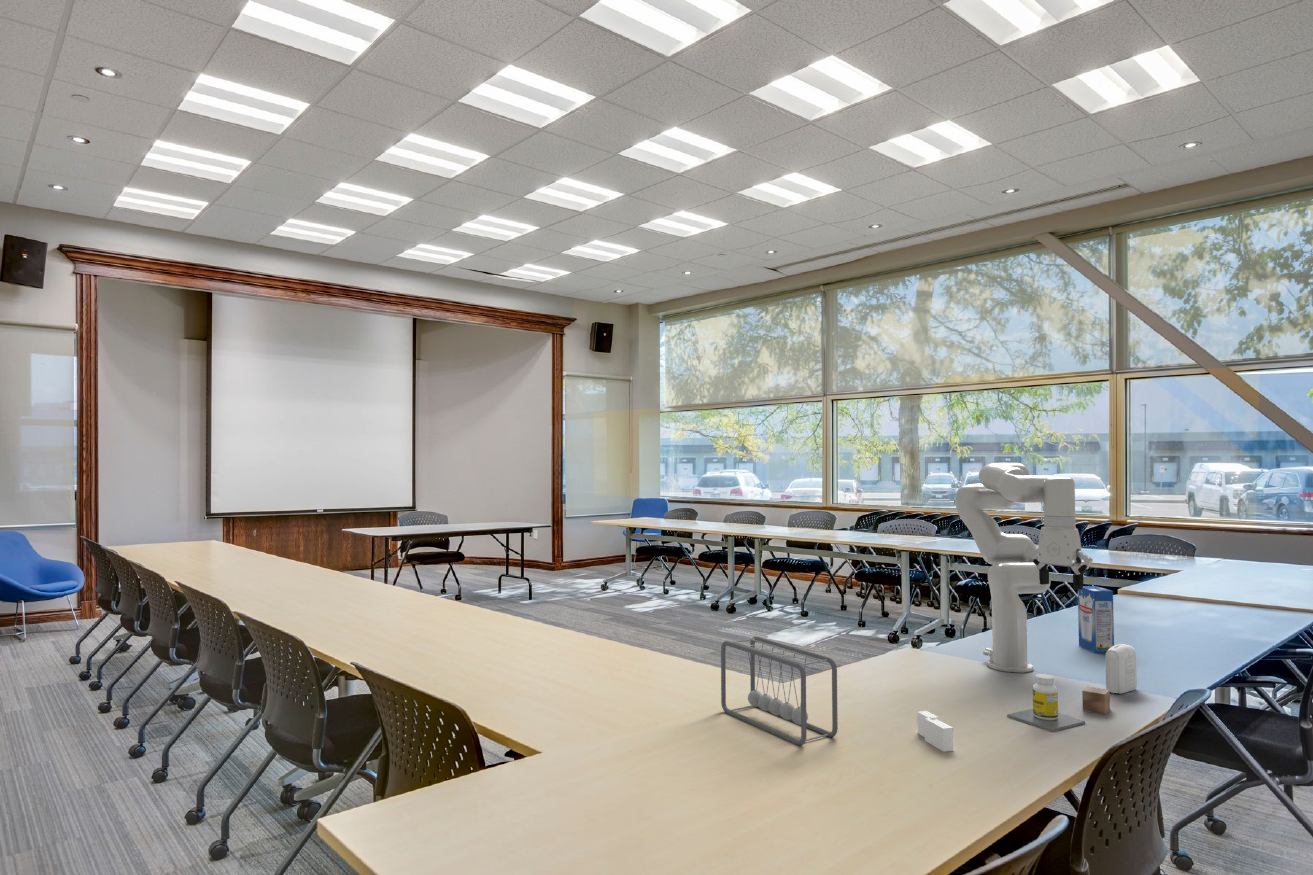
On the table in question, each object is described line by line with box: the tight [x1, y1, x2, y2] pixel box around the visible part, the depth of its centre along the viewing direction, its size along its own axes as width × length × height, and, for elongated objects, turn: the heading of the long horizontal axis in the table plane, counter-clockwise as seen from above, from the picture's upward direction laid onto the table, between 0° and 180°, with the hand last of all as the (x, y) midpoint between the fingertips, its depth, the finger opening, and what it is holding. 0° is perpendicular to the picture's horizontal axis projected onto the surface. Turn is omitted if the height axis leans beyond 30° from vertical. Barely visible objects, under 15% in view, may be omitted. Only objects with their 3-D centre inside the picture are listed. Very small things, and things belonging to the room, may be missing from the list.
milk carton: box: [1077, 585, 1115, 654], centre depth 256 cm, size 10×6×20 cm, turn 179°
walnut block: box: [1081, 685, 1111, 716], centre depth 193 cm, size 5×5×5 cm
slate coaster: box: [1006, 708, 1086, 733], centre depth 185 cm, size 12×12×1 cm
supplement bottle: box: [1032, 673, 1059, 720], centre depth 186 cm, size 5×5×10 cm
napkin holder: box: [917, 710, 954, 752], centre depth 172 cm, size 15×11×6 cm
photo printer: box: [1105, 643, 1138, 695], centre depth 210 cm, size 10×4×12 cm, turn 123°
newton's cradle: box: [720, 635, 839, 746], centre depth 183 cm, size 30×10×18 cm, turn 32°
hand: (1061, 586), depth 208 cm, fingers open, 9 cm apart
